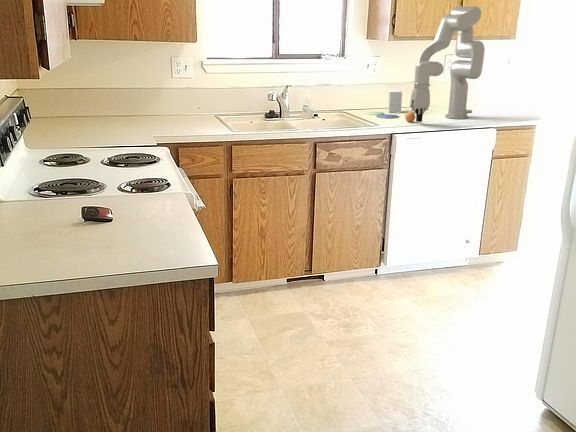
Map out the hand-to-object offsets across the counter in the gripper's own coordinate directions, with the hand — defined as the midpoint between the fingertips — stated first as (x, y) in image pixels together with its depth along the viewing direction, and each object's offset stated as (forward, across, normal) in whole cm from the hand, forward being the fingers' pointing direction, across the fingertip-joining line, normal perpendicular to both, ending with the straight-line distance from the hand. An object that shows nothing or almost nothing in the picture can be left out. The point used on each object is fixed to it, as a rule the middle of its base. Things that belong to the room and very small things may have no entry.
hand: (419, 121), depth 321 cm
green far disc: (+2, 0, -40) cm, 40 cm away
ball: (-1, 0, -8) cm, 8 cm away
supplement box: (+2, -14, -40) cm, 42 cm away
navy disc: (+2, 0, -28) cm, 28 cm away
